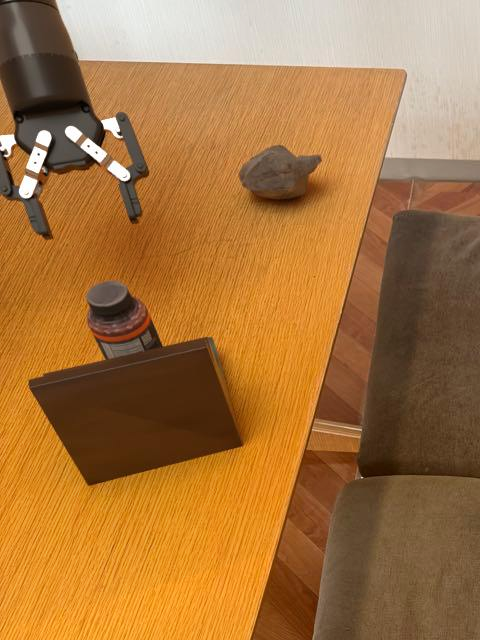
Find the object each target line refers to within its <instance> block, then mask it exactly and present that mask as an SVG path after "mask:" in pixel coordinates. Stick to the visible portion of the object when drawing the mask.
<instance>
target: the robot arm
mask: <svg viewBox="0 0 480 640" xmlns="http://www.w3.org/2000/svg"><path fill="white" fill-rule="evenodd" d="M77 53H78V52H77V51H76V50H75V47H74V44H73V41H72V39H71V35H70V33H69V31H68V28H67V27H66V25H65V23H64V20H63V18H62V15H61V12H60V9H59V6H58V3H57V0H0V83H1V86H2V89H3V92H4V95H5V98H6V101H7V104H8V107H9V110H10V113H11V117H12V118H13V122H14V132H13V133H12V134H3V135H0V195H1V196H3V197H4V198H5V199H6V200H8V201H10V202H14V201H15V202H21V203H22V204H23V206H24V209H25V211H26V216H27V218H28V221H29V223H30V227H31V229H32V230H33V232H35V233H36V234H37V235H38V236H41V237H42V238H43V239H44V240H45V241H51V240H54V235H53V232H52V229H51V226H50V222H49V219H48V217H47V214H46V211H45V208H44V205H43V203H42V202H41V201H40V200H39V199H40V197H41V194H42V192H43V189H44V187H45V186H46V185H47V183H48V182H49V178H50V176H51V174H52V173H53V174H57V175H58V176H61V175H67V174H69V173H71V172H73V171H79V172H85V171H89V170H91V168H92V167H93V166H94V165H96V166H98V167H99V168H100V169H101V170H102V171H104V172H105V173H107V174H108V175H110V176H111V177H112V178H113V179H115V180H116V181H117V182H119V183H118V184H117V185H118V188H119V191H120V195H121V198H122V202H123V204H124V207H125V210H126V214H127V216H128V219H129V222H130V224H131V225H137V224H140V222H139V221H140V220H139V218H142V217H143V213H144V212H143V208H142V206H141V205H142V204H141V202H140V199H139V196H138V193H137V190H136V184H137V183H138V182H139V181H140V180H142V179H147V178H148V177H149V176H150V170H149V167H148V164H147V161H146V159H145V156H144V154H143V151H142V148H141V146H140V143H139V141H138V137H137V135H136V133H135V130H134V127H133V125H132V122H131V120H130V118H129V115H128V114H127V113H126V112H124V111H119V112H117V113H116V114H115V117H110V118H105V119H100V118H99V117H98V116H97V114H96V112H95V110H94V107H93V106H94V105H93V103H92V100H91V98H90V94H89V91H88V88H87V85H86V82H85V79H84V76H83V72H82V69H81V66H80V63H79V61H80V59H79V56H78V54H77ZM107 133H110V134H112V135H113V136H114V138H115V139H116V140H117V141H119V142H124V145H125V147H126V150H127V152H128V155H129V157H130V160H131V162H132V164H130V165H129V166H127V167H124V166H123V165H122V164H121V163H119V162H118V161H116V159H114V158H113V157H112V156H111V155H110V154H108V152H107V151H105V150H104V149H102V146H103V145H104V142H105V141H104V140H105V138H106V136H107V135H106V134H107ZM16 148H20V150H21V151H23V152H24V153H25V154H27V155H28V157H29V159H28V161H27V163H26V166H25V169H24V176H23V179H22V180H21V184H20V185H16V184H15V181H14V176H13V174H12V170H11V166H10V162H9V160H12V159H13V158H14V150H15V149H16Z"/></svg>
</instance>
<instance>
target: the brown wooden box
mask: <svg viewBox="0 0 480 640" xmlns="http://www.w3.org/2000/svg"><path fill="white" fill-rule="evenodd" d="M225 376H226V375H225V372H224V369H223V364H222V362H221V358H220V355H219V351H218V349H217V346H216V343H215V341H214V337H213V336H204V337H199V338H195V339H191V340H187V341H182V342H177V343H173V344H169V345H163V347H159V348H155V349H151V350H146V351H142V352H137V353H133V354H129V355H124V356H120V357H115V358H111V359H106V360H105V359H102V360H98V361H93V362H89V363H85V364H80V365H77V366H71V367H66V368H62V369H58V370H53V371H49V372H44V373H43V374H42V376H38V377H34V378H29V379H28V381H27V382H28V389H29V391H30V392H31V394H32V396H33V398H34V399H35V401H36V402H37V404H38V405H39V407H40V409H41V410H42V412H43V414H44V415H45V417H46V418H47V420H48V422H49V424H50V425H51V427H52V428H53V430H54V432H55V434H56V435H57V437H58V439H59V441H60V442H61V443H62V445H63V447H64V449H65V450H66V452H67V453H68V455H69V456H70V458H71V460H72V462H73V464H74V465H75V466H76V468H77V470H78V471H79V473H80V475H81V476H82V478H83V480H84V481H85V484H86V485H87V486H92V485H96V484H100V483H104V482H108V481H111V480H115V479H119V478H123V477H127V476H130V475H131V476H132V475H136V474H139V473H142V472H147V471H151V470H154V469H158V468H162V467H166V466H170V465H174V464H178V463H182V462H186V461H190V460H193V459H197V458H201V457H205V456H209V455H213V454H217V453H220V452H224V451H228V450H232V449H237V448H240V447H243V446H244V444H243V443H244V442H243V440H242V436H241V432H240V428H239V424H238V421H237V417H236V414H235V410H234V407H233V402H232V398H231V395H230V391H229V388H228V384H227V380H226V377H225Z"/></svg>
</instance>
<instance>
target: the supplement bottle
mask: <svg viewBox="0 0 480 640" xmlns="http://www.w3.org/2000/svg"><path fill="white" fill-rule="evenodd" d="M85 298H86V301H87V304H88V306H89V310H88V312H87V316H86V323H87V325H88V328H89V330H90V332H91V334H92V336H93V338H94V339H95V342H96V344H97V346H98V348H99V350H100V352H101V354H102V356H103V357H104V360H106V359H111V358H115V357H120V356H124V355H129V354H133V353H137V352H142V351H146V350H151V349H155V348H159V347H164V345H163V343H162V341H161V339H160V336H159V334H158V331H157V329H156V327H155V324H154V322H153V320H152V317H151V315H150V312H149V310H148V308H147V306H146V304H145V303H144V302H143V300H141V299H140V298H138V297H136V296H135V295H134V296H133V295H132V294H131V293H130V291H129V288H128V287H127V286H126V284H125V283H124V282H121V281H119V280H105V281H100V282H98V283H96V284H94V285H93V286H91V287H90V288H89V289H88V291H87V292H86V297H85Z"/></svg>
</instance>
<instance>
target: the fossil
mask: <svg viewBox="0 0 480 640" xmlns="http://www.w3.org/2000/svg"><path fill="white" fill-rule="evenodd" d="M322 162H323V159H322V156H321V154H319V153H317V154H312V155H310V154H309V155H303V154H301V155H297V156H296V155H294V153H293V152H291V151H290V150H289V149H288V148H287V147H285V146H284V145H282V144H277V145H271V146H269V147H267V148H265V149H264V150H262V151H260V152H259V153H257V154H256V155H254V156H253V157H250V158H249V161H247V162H244V163H243V164H242V166H241V168H240V170H239V172H238V178H239V180H240V183H241V186H242V187H243V188H244V189H247V190H249V191H250V193H252V194H255V195H257V196H260V197H262V198H266V199H271V200H294V199H296V198H299V197H303V196H304V195H305V194H306V192H307V187H308V180H309V176H310V175H311V174H312V173H314V172H315V171H316V169H317V168H318V166H319V165H320V164H321V163H322Z"/></svg>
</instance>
